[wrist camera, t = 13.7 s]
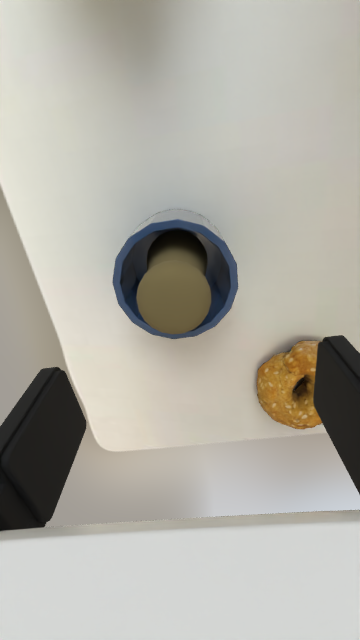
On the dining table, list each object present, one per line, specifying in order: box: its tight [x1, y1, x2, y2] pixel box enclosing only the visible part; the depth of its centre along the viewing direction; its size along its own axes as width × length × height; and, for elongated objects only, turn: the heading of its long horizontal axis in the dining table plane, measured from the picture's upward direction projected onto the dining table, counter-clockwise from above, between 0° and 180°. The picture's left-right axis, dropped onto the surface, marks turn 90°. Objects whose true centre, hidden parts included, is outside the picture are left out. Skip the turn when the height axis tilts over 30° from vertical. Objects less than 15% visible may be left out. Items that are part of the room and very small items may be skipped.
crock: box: [113, 209, 238, 339], centre depth 26 cm, size 10×10×7 cm
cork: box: [136, 230, 211, 334], centre depth 24 cm, size 6×6×11 cm
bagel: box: [257, 341, 322, 429], centre depth 33 cm, size 10×11×5 cm
